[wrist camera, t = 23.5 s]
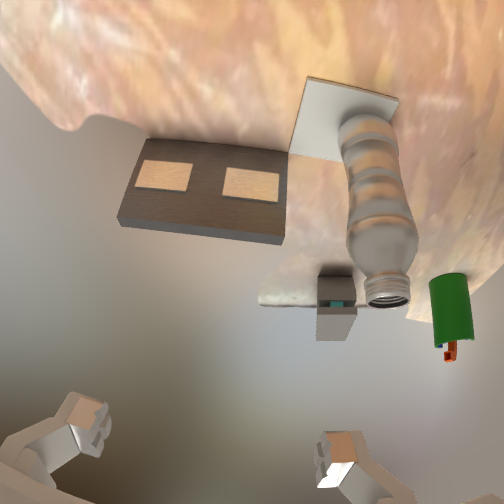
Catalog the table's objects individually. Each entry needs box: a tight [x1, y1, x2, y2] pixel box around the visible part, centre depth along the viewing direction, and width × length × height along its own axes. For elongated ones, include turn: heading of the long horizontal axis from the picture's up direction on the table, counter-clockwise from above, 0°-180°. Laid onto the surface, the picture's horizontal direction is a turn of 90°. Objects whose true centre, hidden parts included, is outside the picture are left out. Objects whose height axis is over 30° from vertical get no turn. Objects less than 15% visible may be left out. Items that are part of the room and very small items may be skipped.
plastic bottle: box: [338, 113, 419, 310], centre depth 28 cm, size 6×7×20 cm
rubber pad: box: [289, 77, 399, 163], centre depth 33 cm, size 11×10×1 cm
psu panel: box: [117, 139, 288, 246], centre depth 36 cm, size 2×18×12 cm, turn 85°
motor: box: [429, 273, 474, 362], centre depth 64 cm, size 10×9×20 cm
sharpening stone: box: [316, 276, 357, 341], centre depth 74 cm, size 25×8×11 cm, turn 10°
